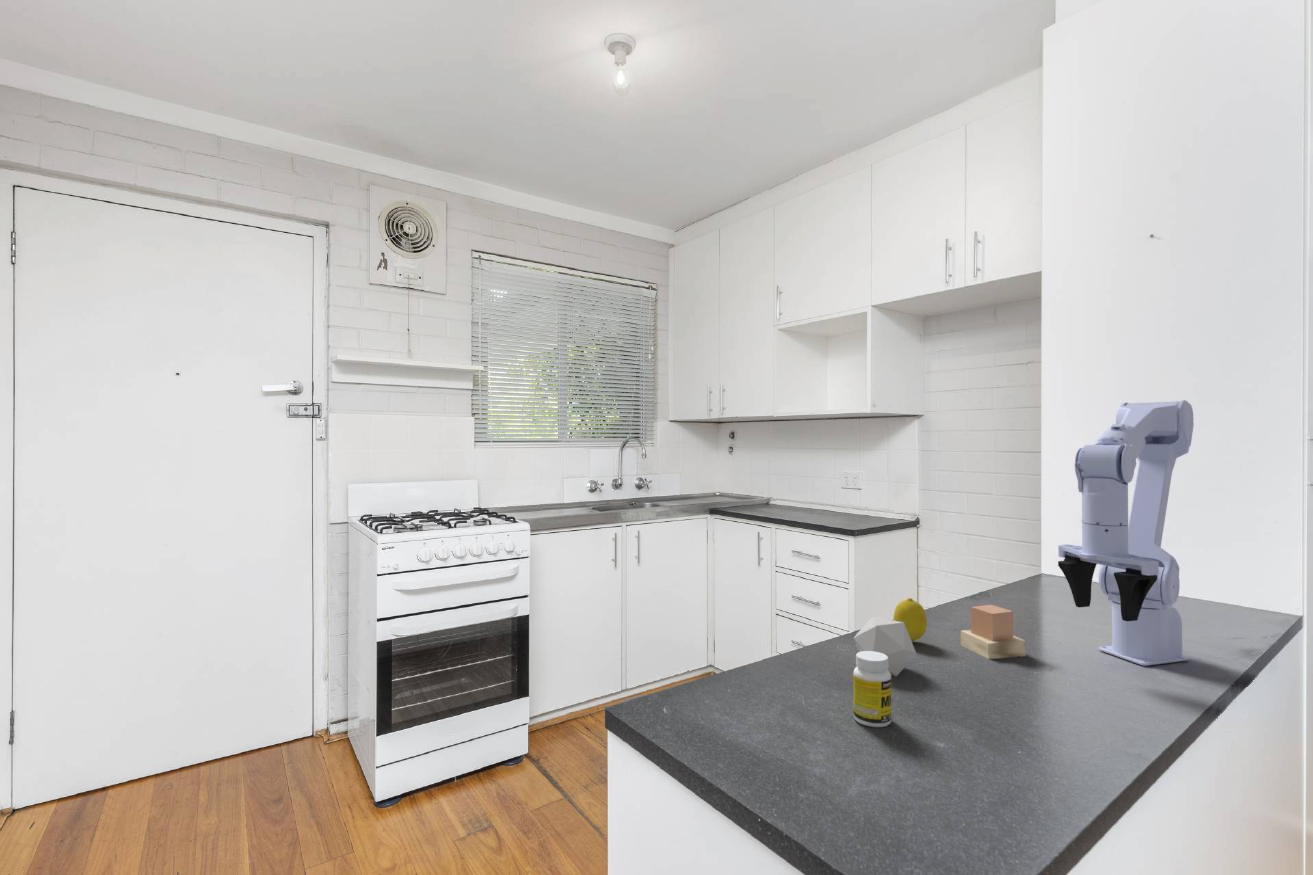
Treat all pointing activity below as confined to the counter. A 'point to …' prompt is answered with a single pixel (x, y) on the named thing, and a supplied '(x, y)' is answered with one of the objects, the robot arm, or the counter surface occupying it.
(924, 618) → the lemon
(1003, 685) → the counter surface
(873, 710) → the supplement bottle
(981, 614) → the terracotta cube
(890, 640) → the die
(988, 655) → the oak block
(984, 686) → the counter surface
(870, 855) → the counter surface
